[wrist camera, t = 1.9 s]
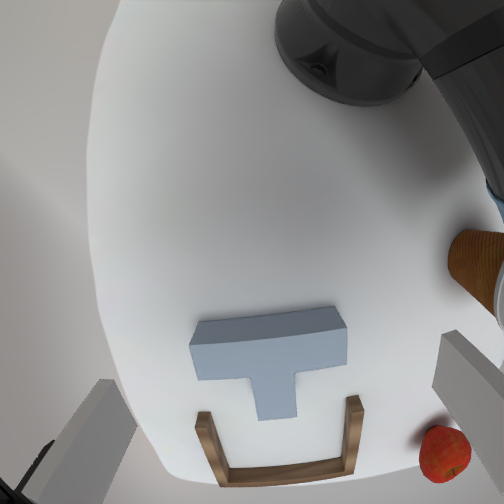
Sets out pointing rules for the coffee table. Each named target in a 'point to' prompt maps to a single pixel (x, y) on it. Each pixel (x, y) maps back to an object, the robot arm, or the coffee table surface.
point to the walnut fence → (286, 472)
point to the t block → (270, 353)
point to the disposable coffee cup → (480, 268)
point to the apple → (444, 453)
